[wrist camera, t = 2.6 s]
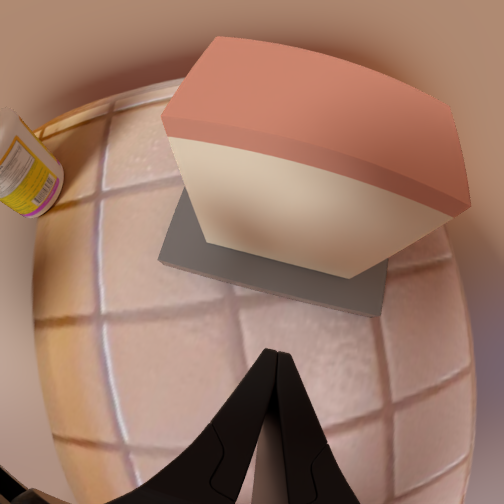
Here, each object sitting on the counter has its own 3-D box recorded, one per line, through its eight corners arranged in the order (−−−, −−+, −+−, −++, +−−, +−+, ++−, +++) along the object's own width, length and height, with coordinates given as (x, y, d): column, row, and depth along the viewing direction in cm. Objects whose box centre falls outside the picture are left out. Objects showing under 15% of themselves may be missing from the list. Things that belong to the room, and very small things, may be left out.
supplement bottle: (25, 175, 22) (-41, 109, 10) (69, 154, 23) (6, 70, 10) (18, 229, 20) (-67, 171, 8) (64, 209, 21) (-24, 130, 8)
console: (371, 317, 19) (380, 316, 18) (163, 264, 20) (157, 259, 18) (385, 150, 24) (391, 141, 22) (226, 107, 24) (225, 96, 23)
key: (349, 279, 18) (471, 206, 7) (206, 242, 19) (160, 115, 7) (358, 214, 20) (449, 106, 8) (227, 179, 20) (216, 36, 8)
